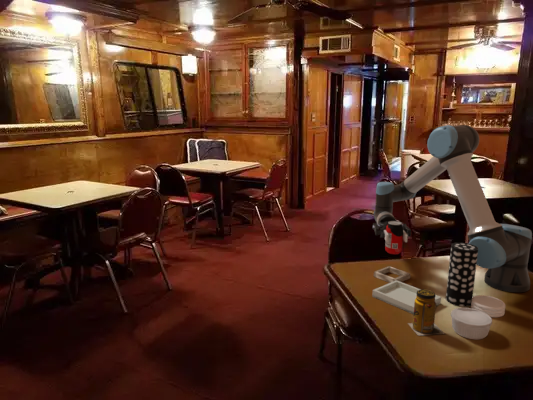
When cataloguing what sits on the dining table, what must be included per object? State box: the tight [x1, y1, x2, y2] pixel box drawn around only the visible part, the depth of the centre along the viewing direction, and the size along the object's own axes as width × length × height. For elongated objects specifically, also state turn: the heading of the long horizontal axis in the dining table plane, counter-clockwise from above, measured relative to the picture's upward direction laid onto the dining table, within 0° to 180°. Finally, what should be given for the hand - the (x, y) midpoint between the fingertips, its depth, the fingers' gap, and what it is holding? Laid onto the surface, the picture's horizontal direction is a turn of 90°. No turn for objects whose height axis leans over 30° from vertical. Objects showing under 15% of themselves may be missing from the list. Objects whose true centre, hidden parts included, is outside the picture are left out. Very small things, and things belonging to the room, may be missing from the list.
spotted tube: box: [445, 242, 478, 307], centre depth 142 cm, size 8×8×20 cm
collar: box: [373, 265, 411, 283], centre depth 164 cm, size 10×10×2 cm
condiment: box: [407, 288, 446, 336], centre depth 125 cm, size 7×8×12 cm
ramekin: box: [450, 307, 493, 340], centre depth 124 cm, size 11×11×5 cm
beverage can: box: [384, 220, 404, 255], centre depth 161 cm, size 6×6×12 cm
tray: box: [371, 280, 442, 315], centre depth 144 cm, size 18×14×2 cm
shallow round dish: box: [470, 294, 506, 318], centre depth 137 cm, size 10×10×4 cm
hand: (396, 238), depth 155 cm, fingers closed on beverage can, 6 cm apart
